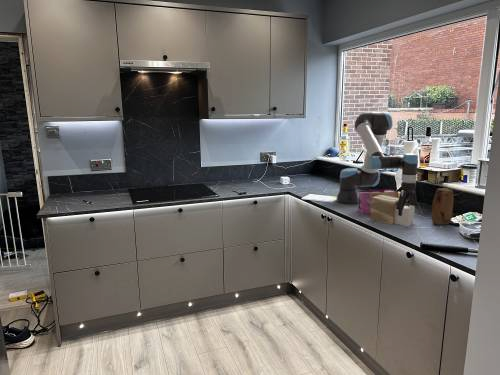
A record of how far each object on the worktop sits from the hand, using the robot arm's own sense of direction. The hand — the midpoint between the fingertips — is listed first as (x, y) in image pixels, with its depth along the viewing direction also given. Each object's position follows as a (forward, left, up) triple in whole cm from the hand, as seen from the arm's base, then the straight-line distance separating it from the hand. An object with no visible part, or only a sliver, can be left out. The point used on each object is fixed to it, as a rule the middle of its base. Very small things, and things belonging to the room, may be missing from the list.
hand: (405, 218), depth 211 cm
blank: (0, -6, -3) cm, 7 cm away
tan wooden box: (0, -12, -3) cm, 13 cm away
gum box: (-13, -25, -4) cm, 28 cm away
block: (-16, +13, -4) cm, 21 cm away
